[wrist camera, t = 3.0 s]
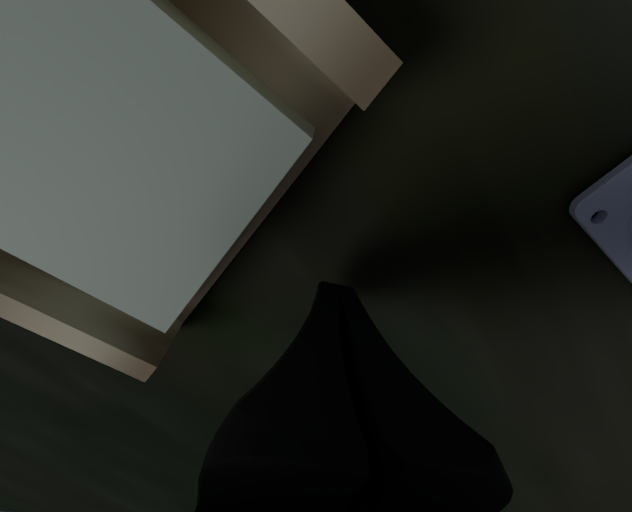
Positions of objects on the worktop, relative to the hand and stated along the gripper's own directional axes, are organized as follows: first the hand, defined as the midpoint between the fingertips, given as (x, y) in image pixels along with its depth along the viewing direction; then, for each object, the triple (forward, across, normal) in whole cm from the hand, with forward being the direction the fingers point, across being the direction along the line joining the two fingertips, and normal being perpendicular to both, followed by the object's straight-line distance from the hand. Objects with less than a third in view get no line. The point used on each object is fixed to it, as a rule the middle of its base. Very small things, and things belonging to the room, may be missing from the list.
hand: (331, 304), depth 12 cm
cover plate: (+1, +8, -4) cm, 9 cm away
